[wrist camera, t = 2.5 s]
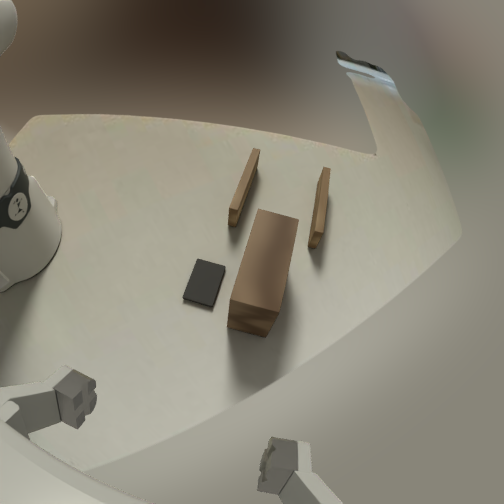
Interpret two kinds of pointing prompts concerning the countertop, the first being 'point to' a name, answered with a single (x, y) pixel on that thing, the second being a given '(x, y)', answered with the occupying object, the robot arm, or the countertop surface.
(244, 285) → the walnut block
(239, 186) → the channel
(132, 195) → the countertop surface
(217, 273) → the mat
